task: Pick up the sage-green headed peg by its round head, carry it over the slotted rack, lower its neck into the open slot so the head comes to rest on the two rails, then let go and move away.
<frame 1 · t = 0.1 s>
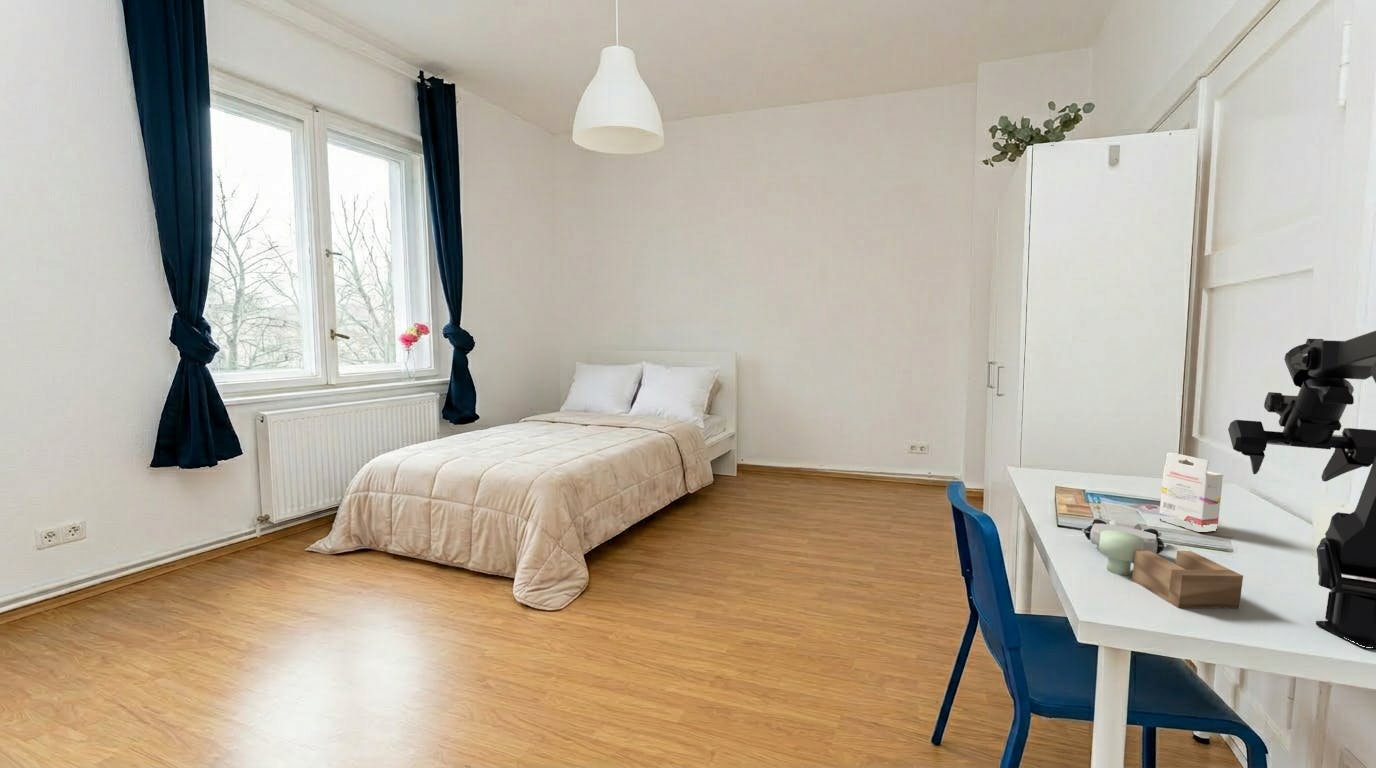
hand: (1288, 475, 110), 15 cm above the table, tool tilted 35°, fingers open, 9 cm apart
ink cartridge box: (1186, 526, 128), on the table
rack: (1176, 589, 98), on the table
peg: (1118, 571, 105), on the table
robot toy: (1122, 549, 116), on the table
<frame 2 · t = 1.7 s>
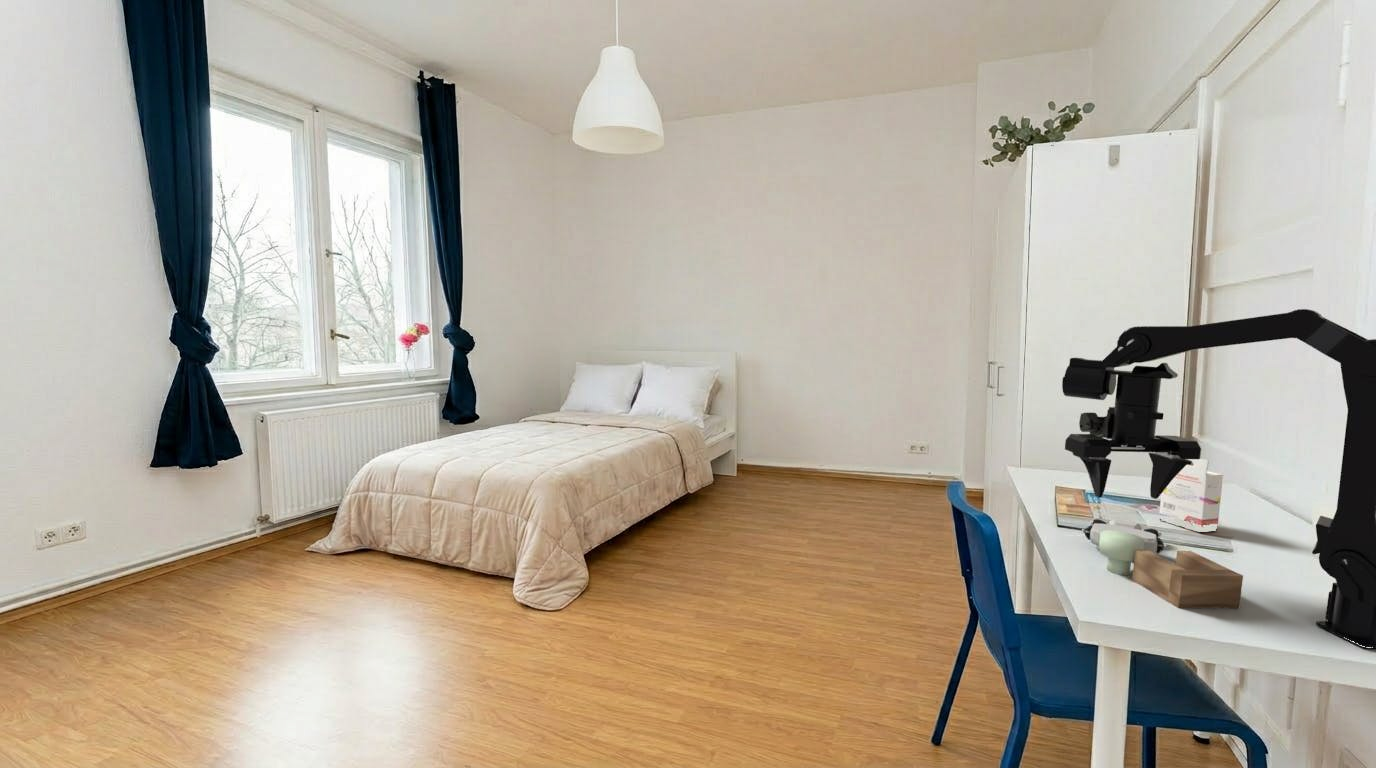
hand: (1126, 497, 104), 13 cm above the table, tool pointing down, fingers open, 9 cm apart
nothing on the table moved.
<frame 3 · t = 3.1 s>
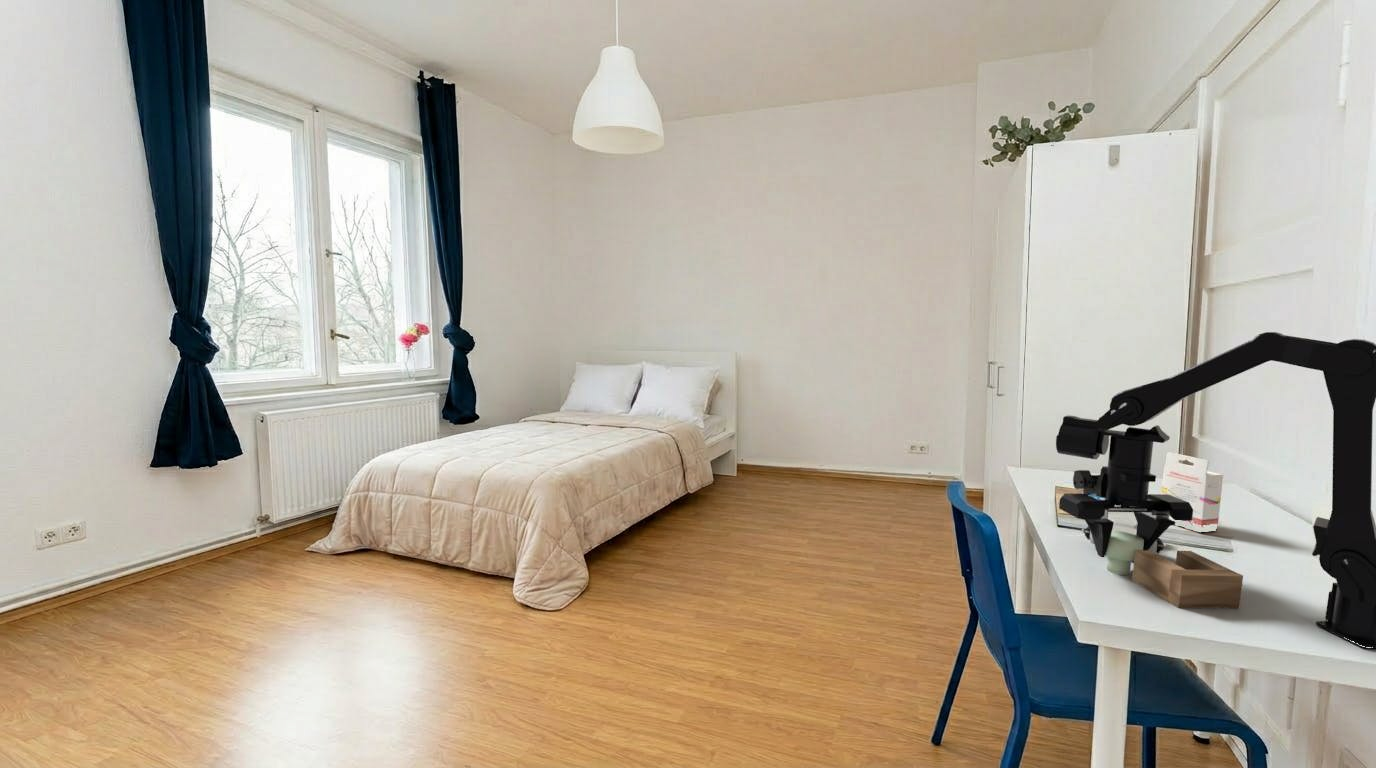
hand: (1119, 556, 105), 3 cm above the table, tool pointing down, fingers closed on peg, 6 cm apart
peg: (1118, 571, 105), on the table, touching gripper
everything else where it was.
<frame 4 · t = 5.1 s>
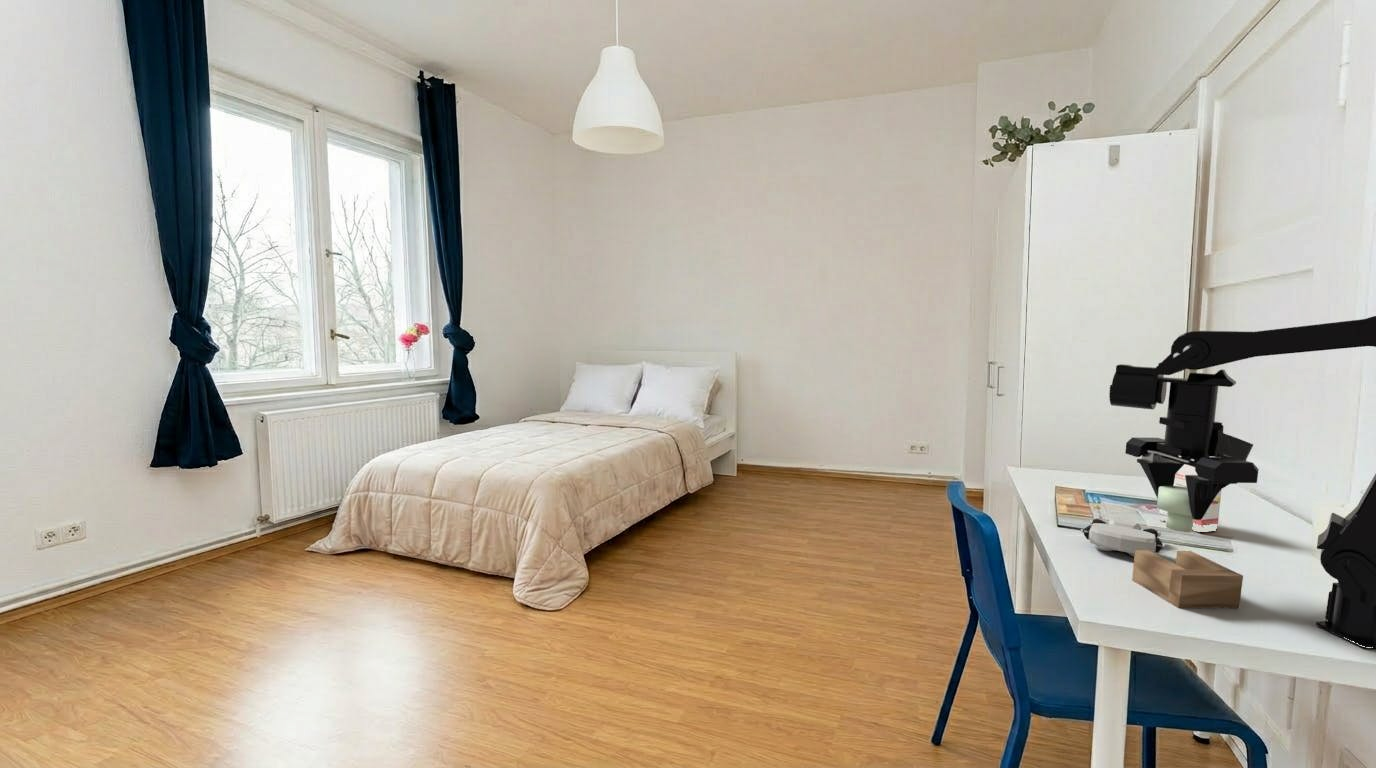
hand: (1180, 512, 98), 12 cm above the table, tool pointing down, fingers closed on peg, 6 cm apart
peg: (1178, 528, 98), point 10 cm above the table, touching gripper
everything else where it was.
when the fingers open (6 cm above the table, at t = 6.9 s): peg drops 1 cm, resting on rack.
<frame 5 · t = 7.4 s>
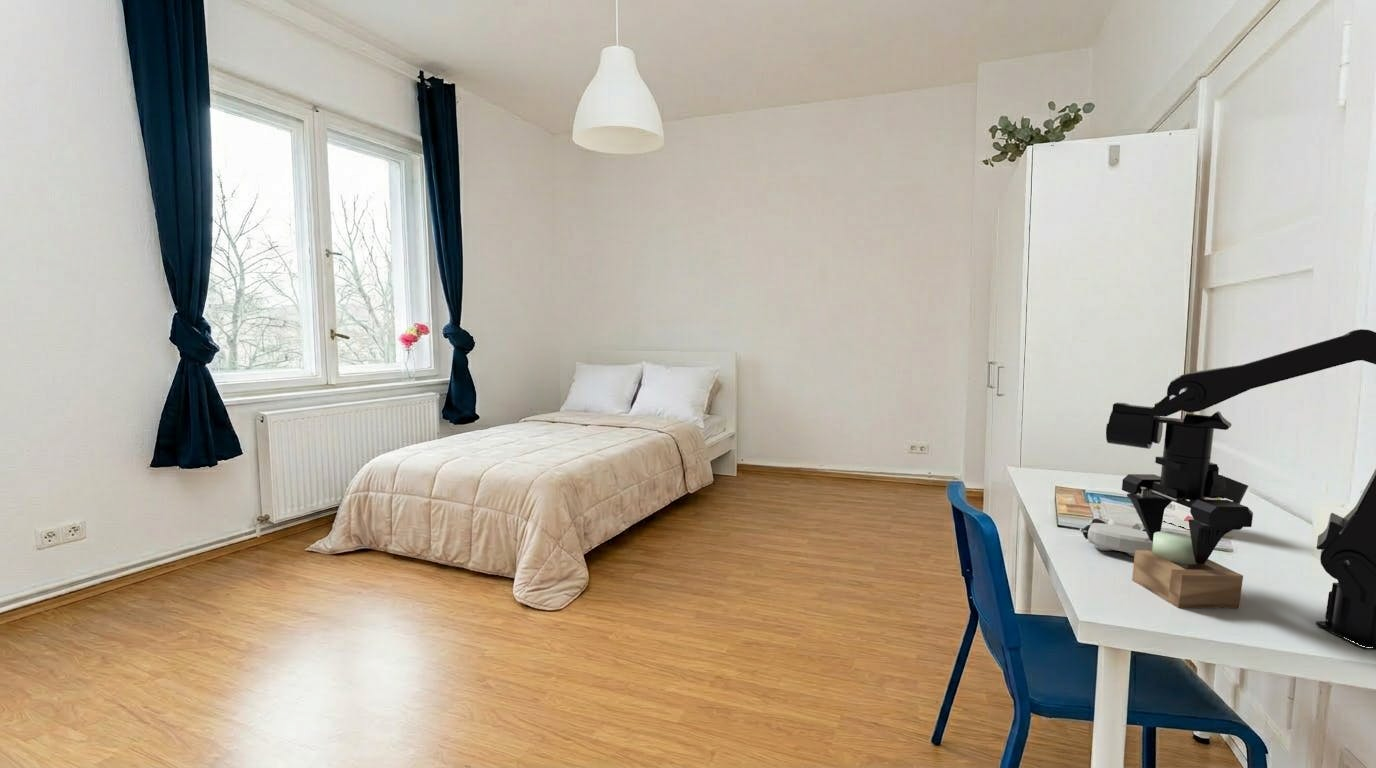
hand: (1175, 551, 99), 6 cm above the table, tool pointing down, fingers open, 9 cm apart
peg: (1173, 575, 99), point 2 cm above the table, touching rack
everything else where it was.
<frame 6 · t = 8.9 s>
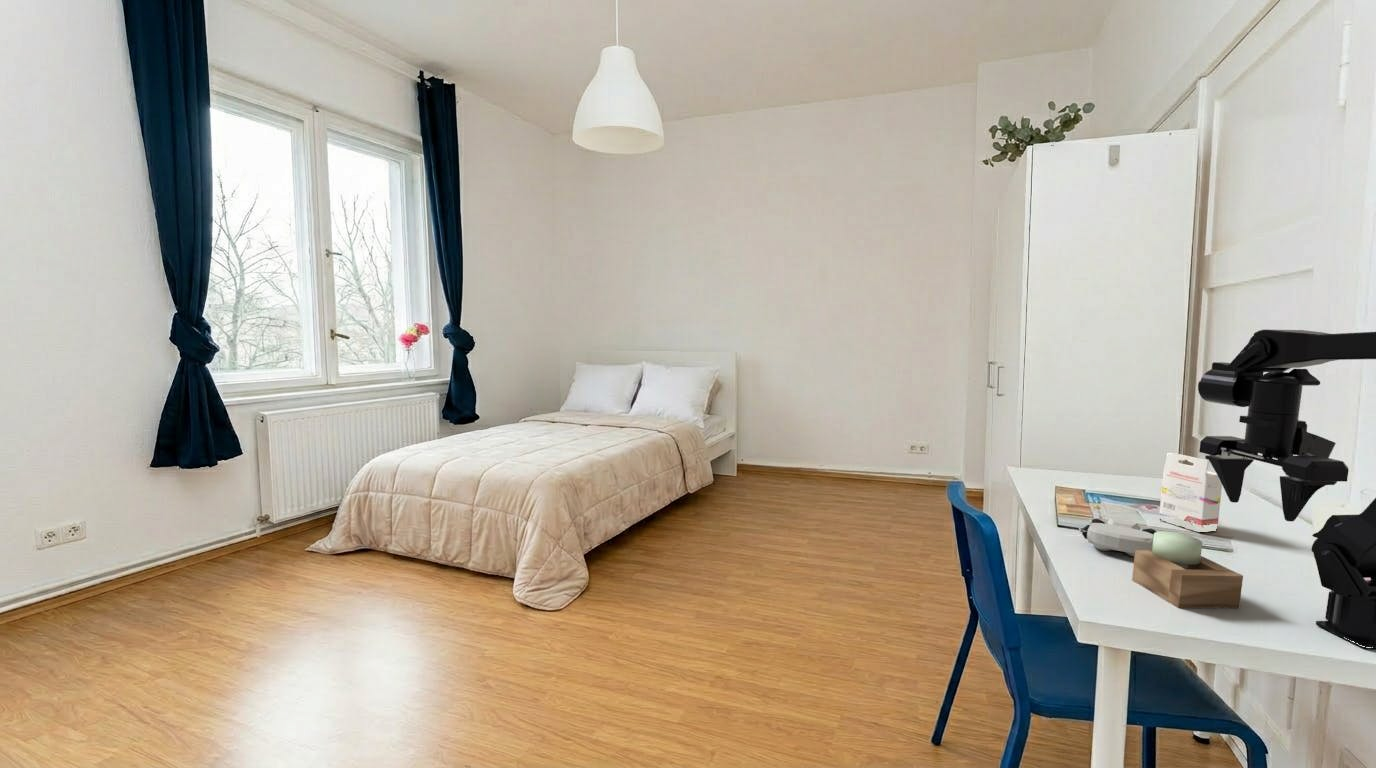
hand: (1260, 511, 98), 12 cm above the table, tool pointing down, fingers open, 9 cm apart
nothing on the table moved.
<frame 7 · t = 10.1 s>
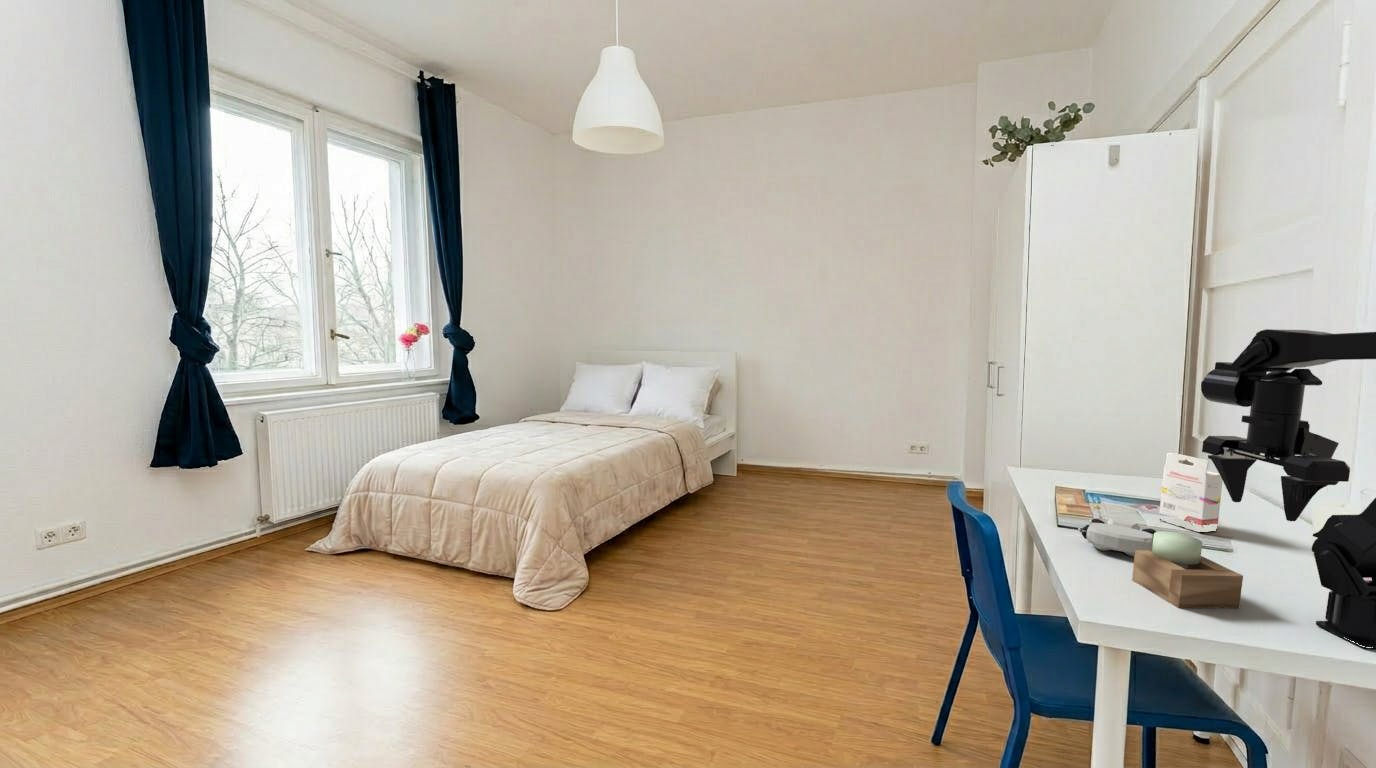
hand: (1262, 511, 98), 13 cm above the table, tool pointing down, fingers open, 9 cm apart
nothing on the table moved.
at the end: peg 1.3 cm off-centre on the rack, point 2.0 cm above the rack's base; peg point 2.0 cm above the table; peg tilted 0° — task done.
